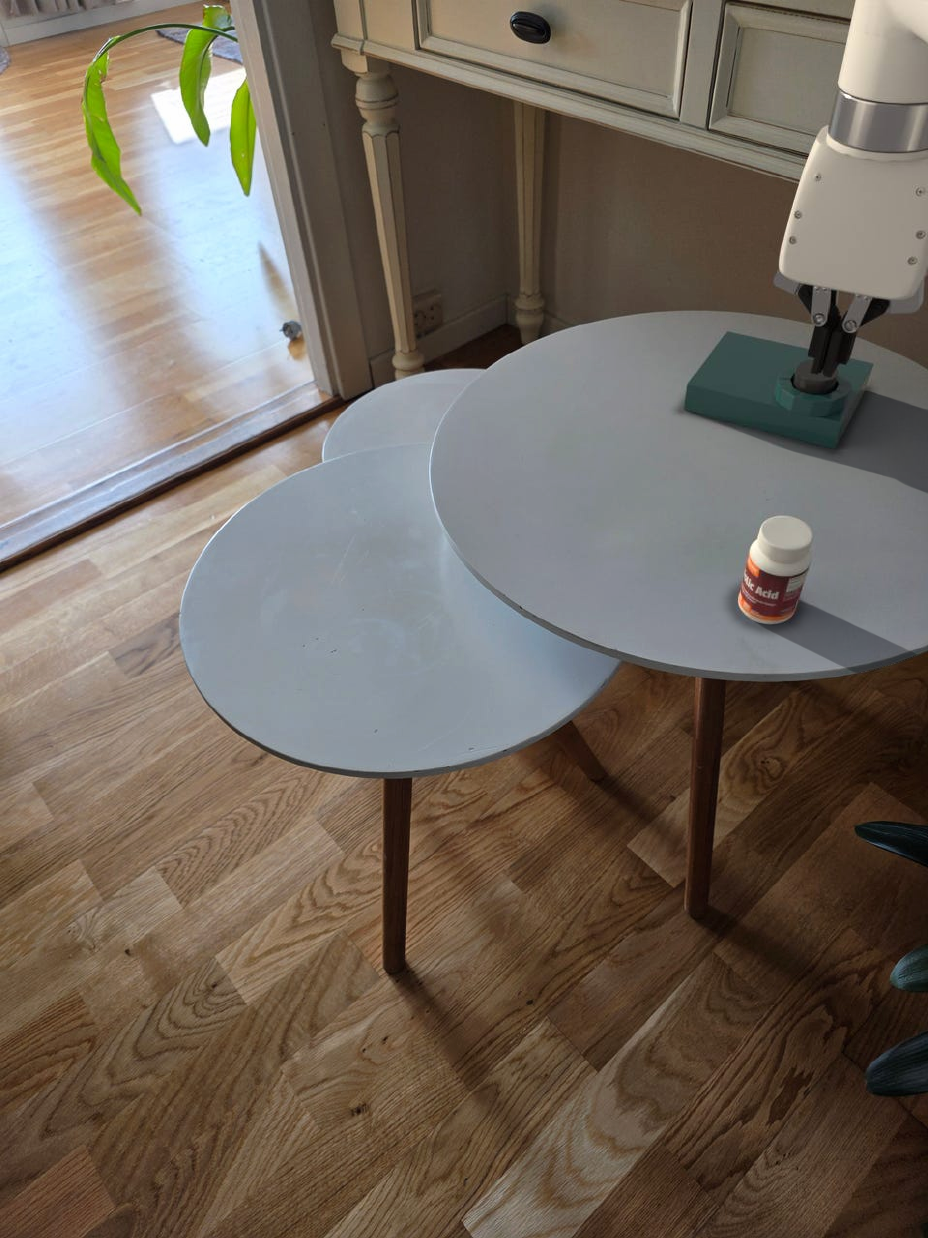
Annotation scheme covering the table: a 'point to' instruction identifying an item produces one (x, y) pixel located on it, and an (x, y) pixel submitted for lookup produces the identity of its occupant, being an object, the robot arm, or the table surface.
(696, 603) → the table surface
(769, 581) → the pill bottle
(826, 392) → the dark grey push button
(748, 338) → the teal rectangular block
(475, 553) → the table surface
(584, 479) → the table surface
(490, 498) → the table surface
